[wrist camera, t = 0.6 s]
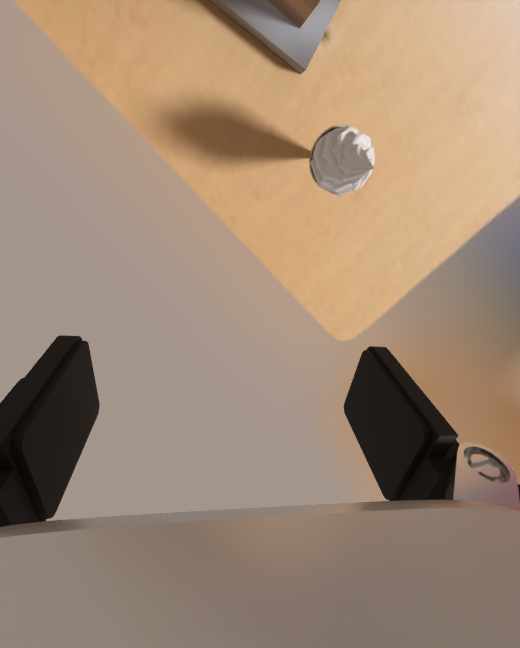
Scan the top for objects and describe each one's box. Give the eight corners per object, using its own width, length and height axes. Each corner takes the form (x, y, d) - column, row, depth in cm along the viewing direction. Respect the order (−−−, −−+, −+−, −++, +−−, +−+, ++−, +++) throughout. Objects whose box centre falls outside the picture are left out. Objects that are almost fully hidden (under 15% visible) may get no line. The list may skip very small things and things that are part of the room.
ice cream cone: (281, 166, 33) (321, 183, 20) (306, 116, 31) (369, 101, 18) (318, 190, 35) (377, 219, 22) (345, 145, 33) (427, 148, 20)
